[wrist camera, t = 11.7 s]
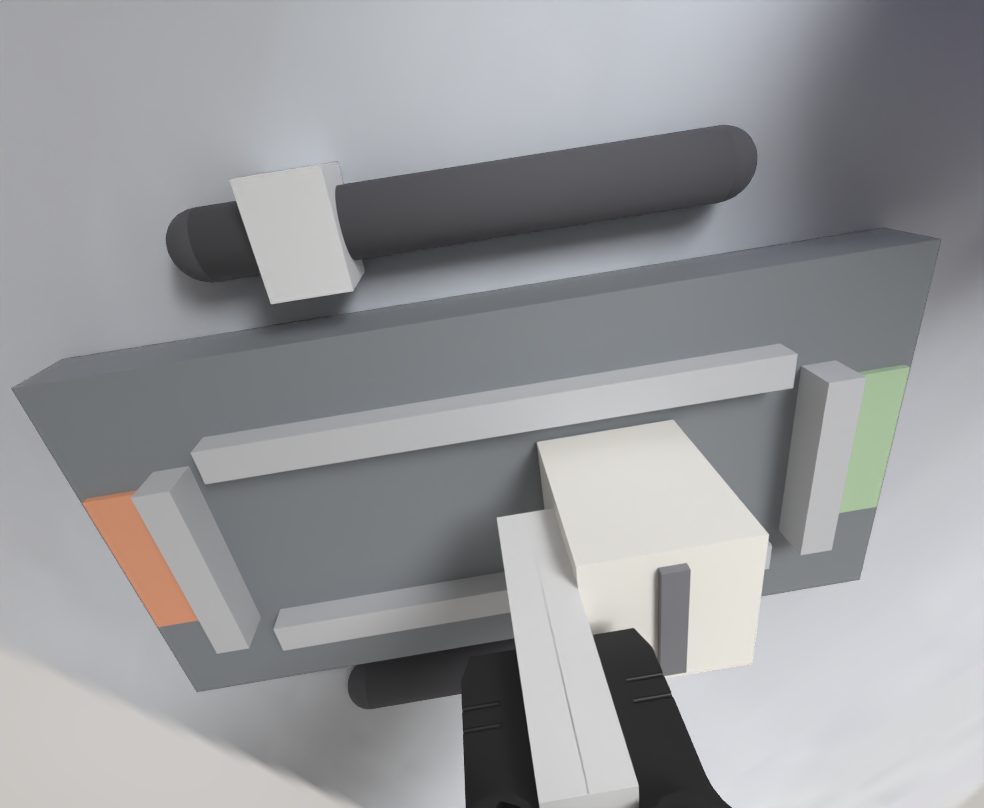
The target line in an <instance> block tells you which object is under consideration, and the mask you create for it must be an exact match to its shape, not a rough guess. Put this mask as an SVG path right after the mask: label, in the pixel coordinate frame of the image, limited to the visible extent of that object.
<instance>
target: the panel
mask: <svg viewBox="0 0 984 808" xmlns="http://www.w3.org/2000/svg"><path fill="white" fill-rule="evenodd" d="M940 243H941V239H938V238H933V237H928V236H923V235H918V234H913V233H907V232H902V231H897V230H892V229H887V228H879V229H873V230H867V231H861V232H854V233H848V234H842V235H836V236H829V237H823V238H817V239H811V240H804V241H798V242H792V243H786V244H779V245H773V246H767V247H761V248H754V249H748V250H742V251H736V252H729V253H723V254H717V255H711V256H704V257H698V258H692V259H686V260H679V261H673V262H667V263H661V264H654V265H648V266H642V267H636V268H629V269H623V270H617V271H611V272H604V273H598V274H592V275H586V276H579V277H573V278H567V279H561V280H554V281H548V282H542V283H536V284H529V285H523V286H517V287H511V288H504V289H498V290H492V291H486V292H479V293H473V294H467V295H461V296H454V297H448V298H442V299H436V300H429V301H423V302H417V303H411V304H404V305H398V306H392V307H386V308H379V309H373V310H367V311H361V312H354V313H348V314H342V315H336V316H329V317H323V318H317V319H311V320H304V321H298V322H292V323H286V324H279V325H273V326H267V327H261V328H254V329H248V330H242V331H236V332H229V333H223V334H217V335H211V336H204V337H198V338H192V339H186V340H179V341H173V342H167V343H161V344H154V345H148V346H142V347H136V348H129V349H123V350H117V351H111V352H104V353H98V354H92V355H86V356H79V357H73V358H67V359H62V360H60V361H58V362H56V363H55V364H53V365H51V366H49V367H48V368H46V369H44V370H43V371H41V372H39V373H37V374H36V375H34V376H32V377H30V378H29V379H27V380H25V381H23V382H22V383H20V384H18V385H16V386H15V387H13V388H11V389H12V391H13V392H14V394H15V396H16V397H17V399H18V400H19V402H20V404H21V405H22V407H23V409H24V410H25V412H26V414H27V415H28V417H29V418H30V420H31V422H32V423H33V425H34V427H35V428H36V430H37V432H38V433H39V435H40V436H41V438H42V440H43V441H44V443H45V445H46V446H47V448H48V450H49V451H50V453H51V454H52V456H53V458H54V459H55V461H56V463H57V464H58V466H59V468H60V469H61V471H62V472H63V474H64V476H65V477H66V479H67V481H68V482H69V484H70V485H71V487H72V489H73V490H74V492H75V494H76V495H77V497H78V499H79V500H80V502H81V503H82V505H83V507H84V508H85V510H86V512H87V513H88V515H89V517H90V518H91V520H92V521H93V523H94V525H95V526H96V528H97V530H98V531H99V533H100V535H101V536H102V538H103V539H104V541H105V543H106V544H107V546H108V548H109V549H110V551H111V553H112V554H113V556H114V557H115V559H116V561H117V562H118V564H119V566H120V567H121V569H122V570H123V572H124V574H125V575H126V577H127V579H128V580H129V582H130V584H131V585H132V587H133V588H134V590H135V592H136V593H137V595H138V597H139V598H140V600H141V602H142V603H143V605H144V606H145V608H146V610H147V611H148V613H149V615H150V616H151V618H152V620H153V621H154V623H155V624H156V626H157V628H158V629H159V631H160V633H161V634H162V636H163V638H164V639H165V641H166V642H167V644H168V646H169V647H170V649H171V651H172V652H173V654H174V655H175V657H176V659H177V660H178V662H179V664H180V665H181V667H182V669H183V670H184V672H185V673H186V675H187V677H188V678H189V680H190V682H191V683H192V685H193V687H194V688H195V690H196V691H197V692H200V691H206V690H212V689H218V688H223V687H229V686H235V685H241V684H247V683H253V682H259V681H265V680H271V679H277V678H282V677H288V676H294V675H300V674H306V673H312V672H318V671H324V670H330V669H336V668H341V667H347V666H353V665H359V664H365V663H371V662H377V661H383V660H389V659H394V658H400V657H406V656H412V655H418V654H424V653H430V652H436V651H442V650H448V649H453V648H459V647H465V646H471V645H477V644H483V643H489V642H495V641H501V640H506V639H512V638H514V632H513V625H512V618H511V611H510V605H509V598H508V591H507V584H506V578H505V571H504V564H503V557H502V551H501V544H500V537H499V530H498V524H497V517H503V516H509V515H515V514H521V513H527V512H533V511H539V510H544V501H543V492H542V484H541V475H540V467H539V458H538V450H537V442H539V441H545V440H552V439H558V438H564V437H570V436H576V435H582V434H588V433H594V432H600V431H606V430H612V429H619V428H625V427H631V426H637V425H643V424H649V423H655V422H661V421H667V420H674V421H675V422H676V423H677V425H678V426H679V427H680V428H681V429H682V431H683V432H684V433H685V434H686V435H687V437H688V438H689V439H690V440H691V441H692V443H693V444H694V445H695V446H696V447H697V449H698V450H699V451H700V452H701V453H702V455H703V456H704V457H705V458H706V459H707V461H708V462H709V463H710V464H711V465H712V467H713V468H714V469H715V470H716V471H717V473H718V474H719V475H720V476H721V477H722V479H723V480H724V481H725V482H726V483H727V485H728V486H729V487H730V488H731V489H732V491H733V492H734V493H735V494H736V495H737V497H738V498H739V499H740V500H741V501H742V503H743V504H744V505H745V506H746V507H747V509H748V510H749V511H750V512H751V513H752V515H753V516H754V517H755V518H756V519H757V521H758V522H759V523H760V524H761V525H762V527H763V528H764V529H765V530H766V531H767V533H768V534H769V539H768V547H767V554H766V562H765V570H764V578H763V585H762V593H761V596H766V595H772V594H778V593H784V592H789V591H795V590H801V589H807V588H813V587H819V586H825V585H831V584H837V583H843V582H848V581H854V580H859V579H860V575H861V571H862V567H863V563H864V559H865V554H866V550H867V546H868V542H869V538H870V534H871V529H872V525H873V521H874V517H875V513H876V509H877V504H878V500H879V496H880V492H881V488H882V484H883V480H884V475H885V471H886V467H887V463H888V459H889V455H890V450H891V446H892V442H893V438H894V434H895V430H896V426H897V421H898V417H899V413H900V409H901V405H902V401H903V396H904V392H905V388H906V384H907V380H908V376H909V371H910V367H911V363H912V359H913V355H914V351H915V347H916V342H917V338H918V334H919V330H920V326H921V322H922V317H923V313H924V309H925V305H926V301H927V297H928V293H929V288H930V284H931V280H932V276H933V272H934V268H935V263H936V259H937V255H938V251H939V247H940Z"/></svg>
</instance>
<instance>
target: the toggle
mask: <svg viewBox="0 0 984 808" xmlns="http://www.w3.org/2000/svg"><path fill="white" fill-rule="evenodd" d="M537 450H538V458H539V467H540V475H541V484H542V492H543V501H544V510H545V509H552V508H553V509H554V512H555V515H556V519H557V522H558V525H559V528H560V532H561V535H562V538H563V542H564V545H565V548H566V551H567V555H568V558H569V561H570V564H571V568H572V571H573V574H574V578H575V581H576V584H577V587H578V590H579V593H580V596H581V599H582V603H583V606H584V609H585V612H586V616H587V619H588V622H589V625H590V629H591V632H592V635H595V634H601V633H607V632H612V631H618V630H624V629H630V628H635V629H636V631H637V632H638V633H639V634H640V635H641V636H642V637H643V638H644V639H645V640H646V641H647V642H648V643H649V644H650V645H651V646H652V647H653V650H654V652H655V655H656V657H657V659H658V662H659V664H660V667H661V669H662V671H663V676H664V677H665V679H667V678H673V677H679V676H684V675H690V674H696V673H702V672H708V671H714V670H719V669H725V668H731V667H737V666H743V665H749V664H752V663H753V656H754V648H755V640H756V632H757V624H758V617H759V609H760V601H761V593H762V585H763V578H764V570H765V562H766V554H767V547H768V539H769V534H768V533H767V531H766V530H765V529H764V528H763V527H762V525H761V524H760V523H759V522H758V521H757V519H756V518H755V517H754V516H753V515H752V513H751V512H750V511H749V510H748V509H747V507H746V506H745V505H744V504H743V503H742V501H741V500H740V499H739V498H738V497H737V495H736V494H735V493H734V492H733V491H732V489H731V488H730V487H729V486H728V485H727V483H726V482H725V481H724V480H723V479H722V477H721V476H720V475H719V474H718V473H717V471H716V470H715V469H714V468H713V467H712V465H711V464H710V463H709V462H708V461H707V459H706V458H705V457H704V456H703V455H702V453H701V452H700V451H699V450H698V449H697V447H696V446H695V445H694V444H693V443H692V441H691V440H690V439H689V438H688V437H687V435H686V434H685V433H684V432H683V431H682V429H681V428H680V427H679V426H678V425H677V423H676V422H675V421H674V420H667V421H661V422H655V423H649V424H643V425H637V426H631V427H625V428H619V429H612V430H606V431H600V432H594V433H588V434H582V435H576V436H570V437H564V438H558V439H552V440H545V441H539V442H537Z"/></svg>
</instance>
